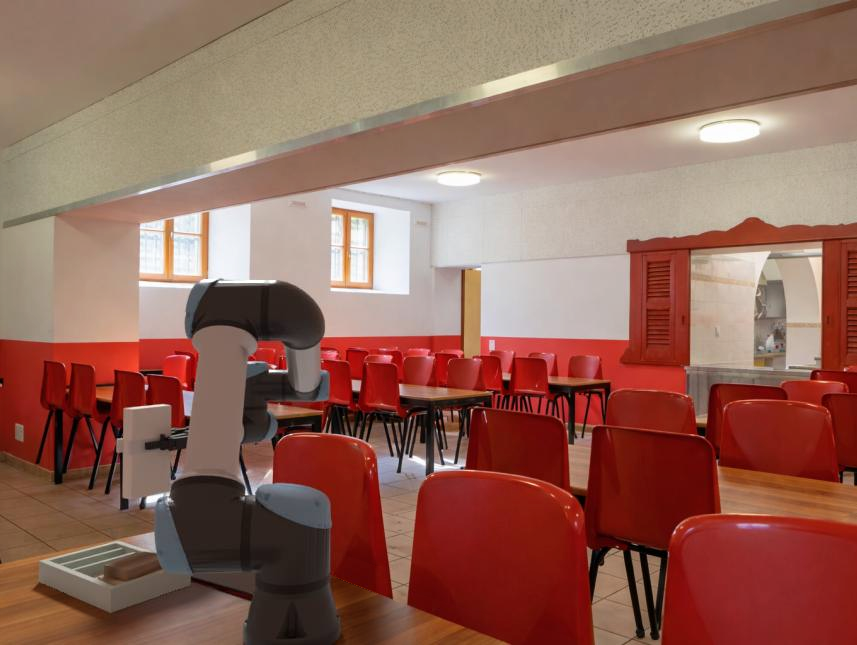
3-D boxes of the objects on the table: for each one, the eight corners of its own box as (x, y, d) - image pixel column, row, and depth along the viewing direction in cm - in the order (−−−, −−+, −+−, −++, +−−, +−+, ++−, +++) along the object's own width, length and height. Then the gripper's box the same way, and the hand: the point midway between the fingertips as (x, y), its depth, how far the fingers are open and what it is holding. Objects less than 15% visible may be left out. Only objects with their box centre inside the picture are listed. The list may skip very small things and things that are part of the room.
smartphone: (214, 553, 151) (301, 575, 137) (214, 560, 151) (301, 583, 137) (164, 569, 141) (253, 595, 127) (164, 577, 141) (253, 603, 127)
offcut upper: (166, 566, 134) (167, 556, 134) (126, 582, 126) (127, 570, 126) (144, 561, 137) (144, 551, 137) (103, 576, 129) (103, 565, 129)
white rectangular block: (170, 491, 150) (171, 405, 150) (131, 499, 142) (132, 409, 142) (161, 489, 151) (162, 404, 151) (122, 497, 144) (123, 408, 144)
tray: (190, 585, 134) (190, 564, 134) (110, 612, 121) (110, 589, 121) (117, 559, 148) (118, 540, 148) (38, 582, 135) (39, 560, 135)
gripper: (242, 453, 157) (147, 471, 138) (195, 445, 166) (99, 460, 147) (242, 419, 157) (147, 432, 138) (195, 413, 166) (100, 424, 147)
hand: (123, 446), depth 142 cm, fingers closed on white rectangular block, 3 cm apart
